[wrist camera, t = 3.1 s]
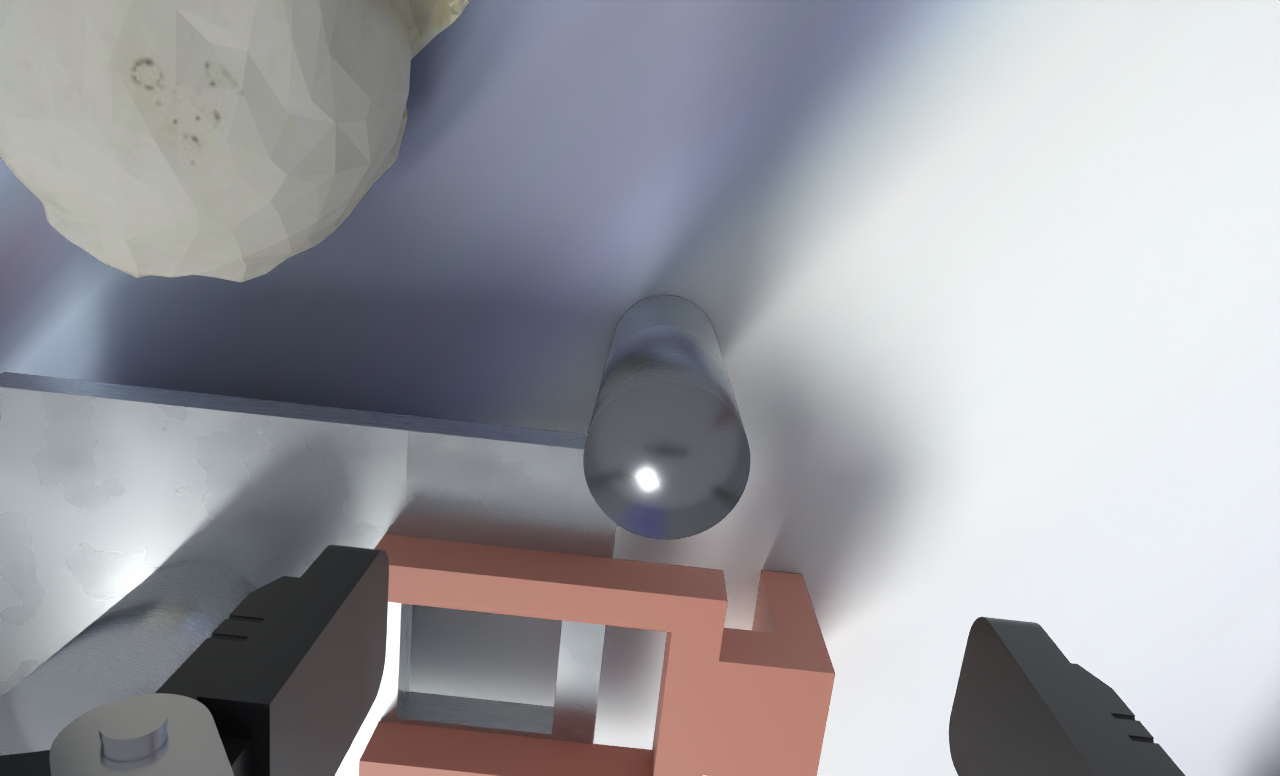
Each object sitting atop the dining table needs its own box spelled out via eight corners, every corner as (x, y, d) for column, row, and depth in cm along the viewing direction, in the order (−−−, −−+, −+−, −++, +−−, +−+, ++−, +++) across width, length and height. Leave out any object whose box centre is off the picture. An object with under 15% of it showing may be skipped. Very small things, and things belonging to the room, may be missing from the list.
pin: (608, 390, 31) (576, 530, 19) (618, 289, 30) (590, 372, 19) (709, 401, 31) (738, 547, 19) (723, 300, 30) (761, 391, 19)
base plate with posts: (89, 719, 35) (-161, 965, 24) (66, 351, 31) (-244, 453, 21) (590, 772, 35) (559, 1040, 24) (628, 412, 31) (611, 544, 21)
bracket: (413, 676, 34) (357, 793, 28) (422, 483, 32) (364, 562, 26) (778, 714, 34) (804, 840, 28) (810, 524, 32) (845, 613, 26)
